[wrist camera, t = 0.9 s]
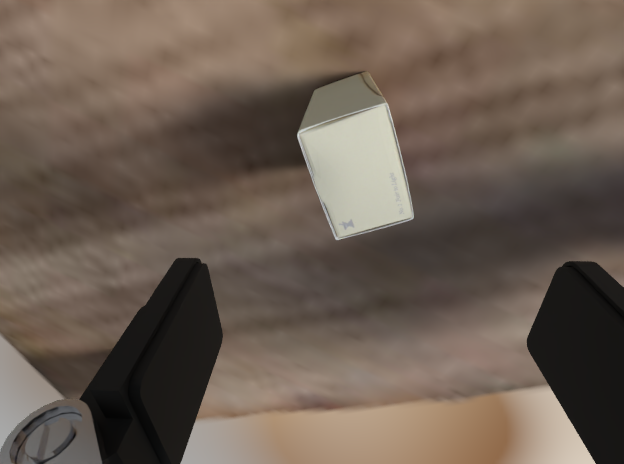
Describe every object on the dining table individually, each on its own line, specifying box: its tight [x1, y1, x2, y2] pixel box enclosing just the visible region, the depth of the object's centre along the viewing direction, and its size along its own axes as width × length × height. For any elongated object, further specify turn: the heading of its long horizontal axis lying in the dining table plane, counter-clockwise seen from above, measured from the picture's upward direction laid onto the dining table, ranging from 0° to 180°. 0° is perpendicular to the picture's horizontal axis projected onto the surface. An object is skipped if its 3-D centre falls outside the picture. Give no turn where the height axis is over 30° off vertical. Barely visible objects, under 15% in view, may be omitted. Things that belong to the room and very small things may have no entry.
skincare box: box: [297, 71, 414, 240], centre depth 22 cm, size 6×4×12 cm
